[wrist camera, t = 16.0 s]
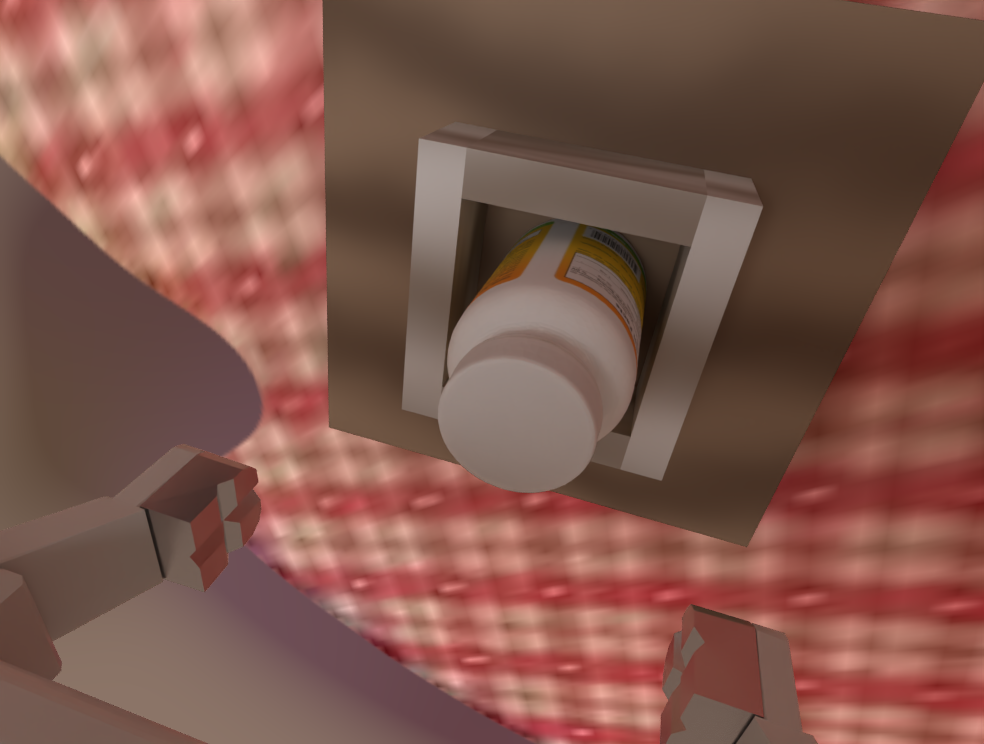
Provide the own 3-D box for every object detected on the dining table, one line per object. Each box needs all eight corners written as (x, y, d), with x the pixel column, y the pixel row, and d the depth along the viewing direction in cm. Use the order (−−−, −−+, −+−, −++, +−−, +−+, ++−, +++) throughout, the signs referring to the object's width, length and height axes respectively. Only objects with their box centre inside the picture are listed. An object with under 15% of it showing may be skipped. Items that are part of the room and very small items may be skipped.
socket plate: (336, -71, 20) (256, -91, 16) (996, 24, 17) (1086, 25, 13) (338, 416, 31) (290, 471, 27) (744, 531, 27) (754, 612, 24)
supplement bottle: (509, 345, 25) (423, 503, 17) (499, 213, 22) (393, 325, 14) (644, 352, 23) (624, 529, 15) (651, 212, 21) (631, 336, 13)
